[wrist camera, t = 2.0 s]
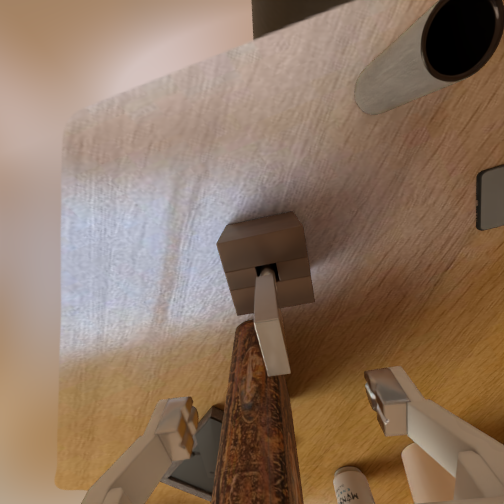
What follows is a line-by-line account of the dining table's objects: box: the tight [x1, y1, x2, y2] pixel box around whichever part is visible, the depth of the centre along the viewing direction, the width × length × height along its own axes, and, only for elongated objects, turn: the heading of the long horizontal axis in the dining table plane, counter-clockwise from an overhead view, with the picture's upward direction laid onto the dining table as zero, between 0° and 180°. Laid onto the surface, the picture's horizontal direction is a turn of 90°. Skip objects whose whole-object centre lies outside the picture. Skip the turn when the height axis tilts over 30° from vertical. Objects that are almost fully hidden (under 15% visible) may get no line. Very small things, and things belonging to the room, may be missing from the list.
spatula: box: [254, 263, 291, 377], centre depth 21 cm, size 4×1×17 cm, turn 13°
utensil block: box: [216, 211, 315, 316], centre depth 26 cm, size 8×8×7 cm
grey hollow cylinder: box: [355, 0, 504, 115], centre depth 18 cm, size 4×4×10 cm
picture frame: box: [160, 406, 224, 502], centre depth 42 cm, size 16×2×21 cm
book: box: [211, 320, 304, 504], centre depth 24 cm, size 16×6×25 cm, turn 12°
